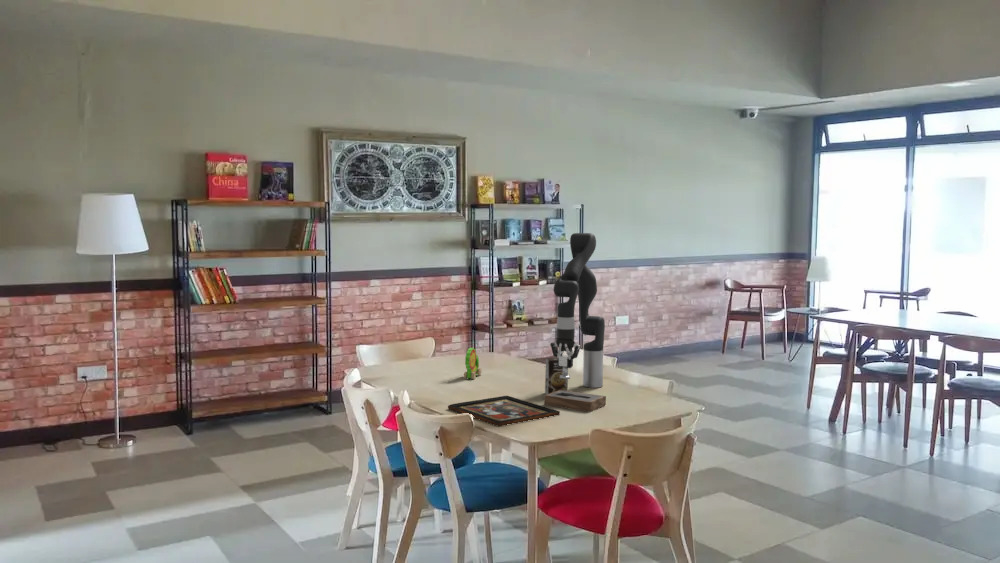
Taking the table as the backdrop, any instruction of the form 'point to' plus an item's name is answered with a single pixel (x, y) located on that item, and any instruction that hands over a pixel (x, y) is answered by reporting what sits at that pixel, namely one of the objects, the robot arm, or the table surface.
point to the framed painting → (503, 410)
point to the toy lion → (472, 364)
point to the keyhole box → (575, 400)
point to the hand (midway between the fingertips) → (565, 367)
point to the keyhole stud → (564, 366)
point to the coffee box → (554, 377)
